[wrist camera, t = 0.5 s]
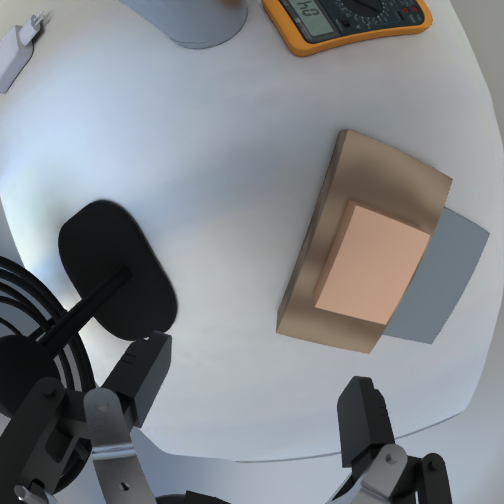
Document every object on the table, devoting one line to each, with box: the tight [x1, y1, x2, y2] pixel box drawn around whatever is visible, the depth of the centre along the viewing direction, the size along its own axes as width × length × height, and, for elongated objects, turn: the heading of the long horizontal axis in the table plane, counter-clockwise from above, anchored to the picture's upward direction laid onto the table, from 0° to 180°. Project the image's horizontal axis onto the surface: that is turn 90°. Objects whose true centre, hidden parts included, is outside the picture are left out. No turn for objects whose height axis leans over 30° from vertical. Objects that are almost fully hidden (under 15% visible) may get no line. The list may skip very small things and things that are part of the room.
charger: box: [0, 11, 44, 94], centre depth 19 cm, size 5×9×15 cm
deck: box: [276, 129, 453, 354], centre depth 27 cm, size 22×12×4 cm, turn 165°
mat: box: [383, 207, 490, 344], centre depth 29 cm, size 18×12×1 cm, turn 165°
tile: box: [313, 199, 430, 325], centre depth 24 cm, size 10×8×2 cm
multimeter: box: [262, 0, 433, 57], centre depth 17 cm, size 9×18×3 cm, turn 114°
